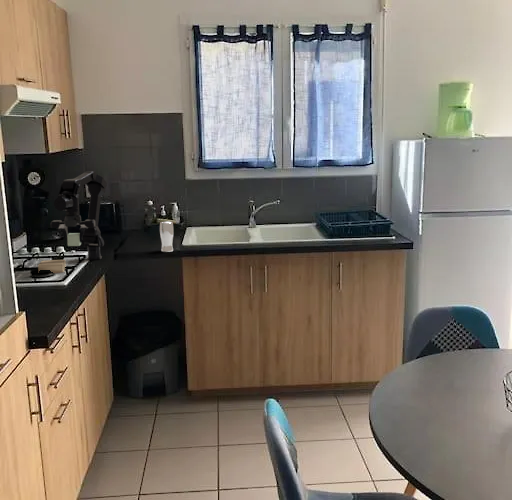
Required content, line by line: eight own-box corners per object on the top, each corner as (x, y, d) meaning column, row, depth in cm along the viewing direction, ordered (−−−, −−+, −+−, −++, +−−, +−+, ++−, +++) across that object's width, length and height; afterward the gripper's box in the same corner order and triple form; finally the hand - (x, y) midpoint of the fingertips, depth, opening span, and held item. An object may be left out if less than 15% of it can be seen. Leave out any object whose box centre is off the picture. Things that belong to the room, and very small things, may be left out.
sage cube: (69, 244, 263) (69, 233, 262) (81, 243, 263) (80, 233, 262) (67, 246, 258) (67, 235, 257) (79, 245, 258) (78, 234, 258)
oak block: (42, 269, 258) (42, 260, 258) (65, 268, 260) (65, 259, 260) (38, 274, 249) (38, 265, 248) (63, 273, 251) (62, 264, 250)
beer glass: (164, 249, 304) (164, 221, 301) (176, 250, 302) (175, 221, 299) (158, 251, 298) (157, 222, 295) (169, 252, 295) (168, 223, 292)
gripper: (46, 210, 248) (49, 246, 251) (91, 209, 251) (93, 245, 254) (51, 207, 259) (54, 242, 262) (94, 207, 262) (96, 241, 265)
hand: (74, 242), depth 260 cm, fingers closed on sage cube, 5 cm apart
